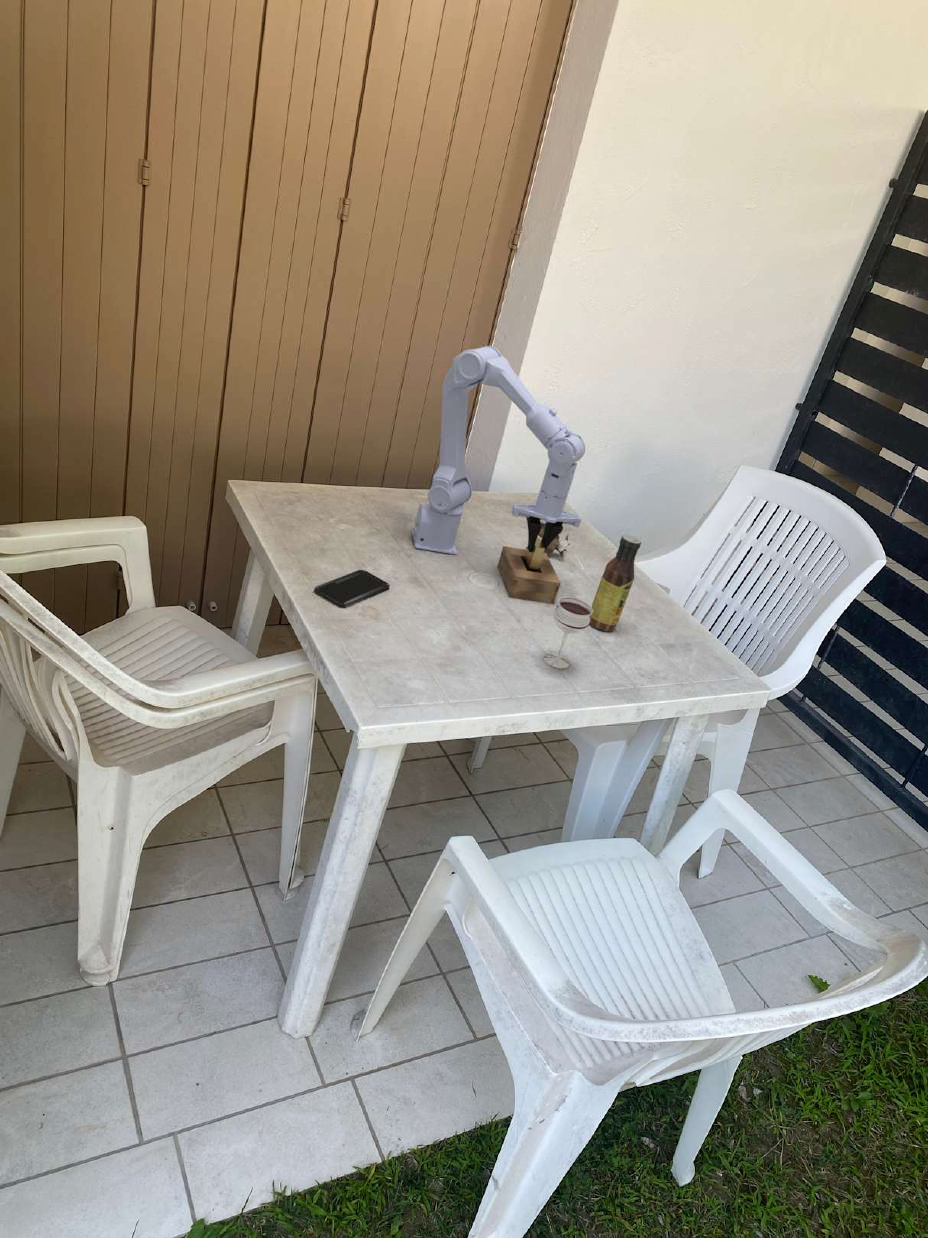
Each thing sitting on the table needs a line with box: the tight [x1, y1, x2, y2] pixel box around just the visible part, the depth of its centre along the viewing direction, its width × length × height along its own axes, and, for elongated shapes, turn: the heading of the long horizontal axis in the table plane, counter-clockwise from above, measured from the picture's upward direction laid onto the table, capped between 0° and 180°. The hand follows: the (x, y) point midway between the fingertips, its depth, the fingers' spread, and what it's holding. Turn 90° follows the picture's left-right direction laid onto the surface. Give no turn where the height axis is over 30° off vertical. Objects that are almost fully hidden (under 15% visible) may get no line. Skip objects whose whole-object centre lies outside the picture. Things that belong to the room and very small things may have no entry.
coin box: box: [497, 545, 562, 605], centre depth 200 cm, size 10×14×5 cm
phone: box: [313, 569, 391, 609], centre depth 180 cm, size 8×1×15 cm
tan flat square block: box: [525, 537, 545, 569], centre depth 197 cm, size 2×5×5 cm, turn 9°
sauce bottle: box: [589, 534, 642, 632], centre depth 188 cm, size 6×6×20 cm
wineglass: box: [543, 596, 593, 669], centre depth 172 cm, size 7×7×12 cm
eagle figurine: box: [525, 522, 571, 558], centre depth 217 cm, size 8×7×9 cm
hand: (535, 550), depth 197 cm, fingers closed on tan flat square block, 2 cm apart
